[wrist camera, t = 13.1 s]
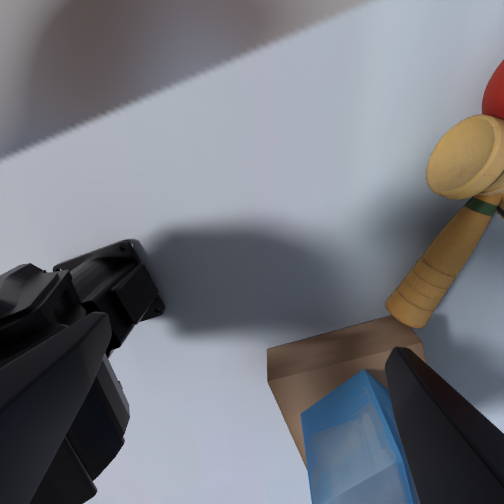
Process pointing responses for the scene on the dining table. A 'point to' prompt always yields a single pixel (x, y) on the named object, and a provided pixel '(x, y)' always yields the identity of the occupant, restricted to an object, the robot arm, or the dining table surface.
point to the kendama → (457, 187)
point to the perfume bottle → (356, 447)
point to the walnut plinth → (332, 365)
